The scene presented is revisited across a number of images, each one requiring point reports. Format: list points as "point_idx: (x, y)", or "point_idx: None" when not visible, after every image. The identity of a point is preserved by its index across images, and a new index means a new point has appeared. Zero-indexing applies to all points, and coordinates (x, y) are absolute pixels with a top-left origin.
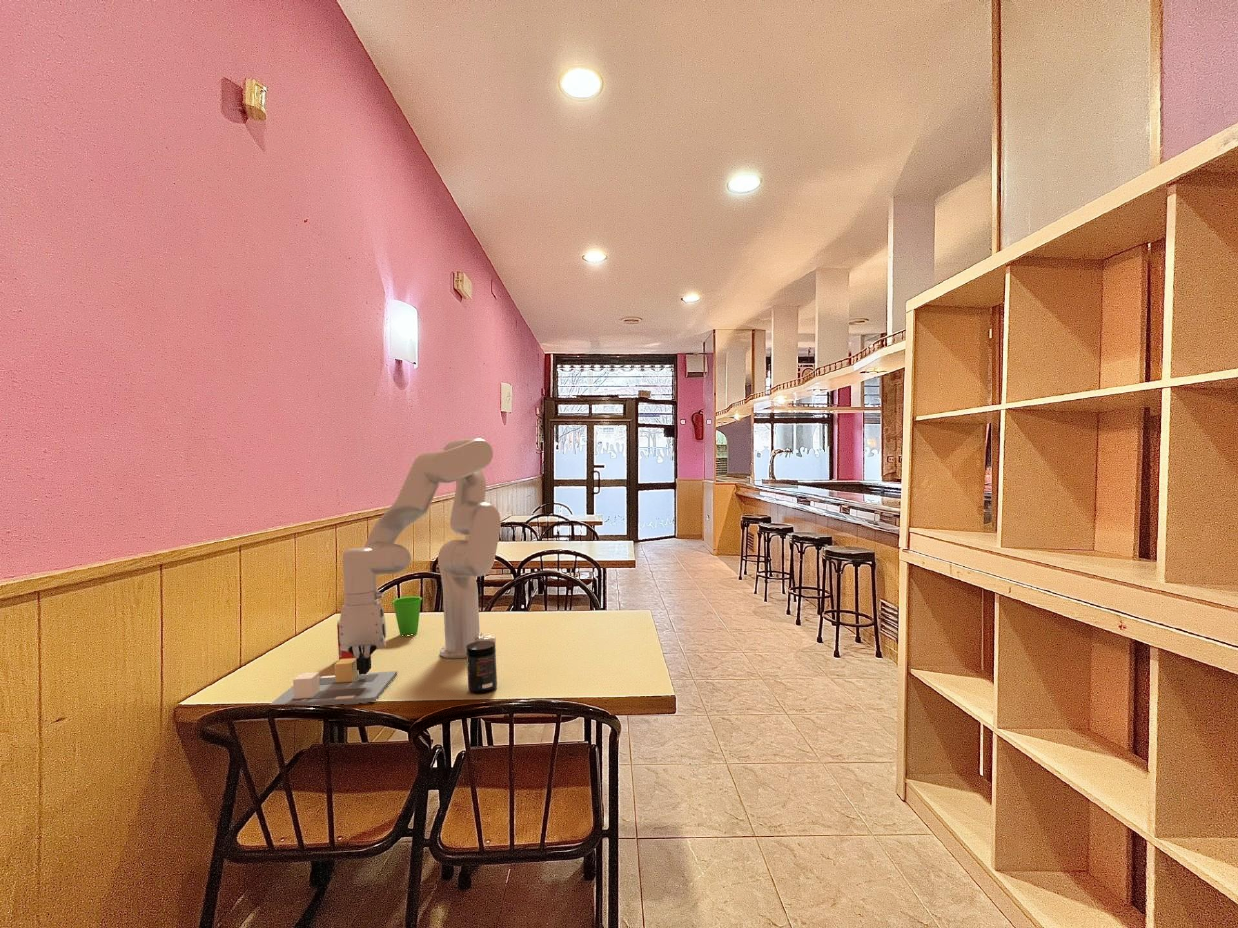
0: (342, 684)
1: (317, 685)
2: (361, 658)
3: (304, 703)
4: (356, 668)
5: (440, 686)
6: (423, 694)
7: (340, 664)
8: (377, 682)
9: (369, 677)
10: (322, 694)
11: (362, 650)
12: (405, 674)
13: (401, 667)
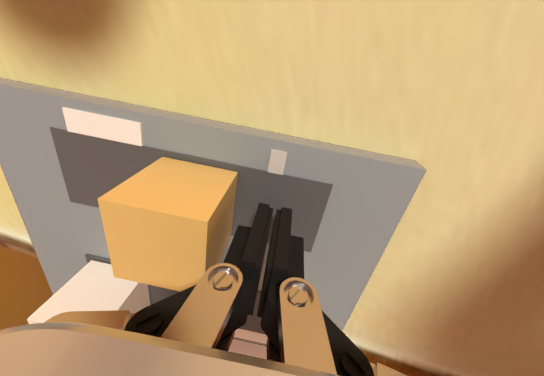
0: None
1: (133, 303)
2: (251, 310)
3: None
4: (224, 208)
5: (535, 325)
6: (460, 350)
7: (147, 281)
8: (330, 269)
9: (293, 210)
10: (169, 295)
11: (235, 295)
12: (457, 156)
13: (469, 8)
